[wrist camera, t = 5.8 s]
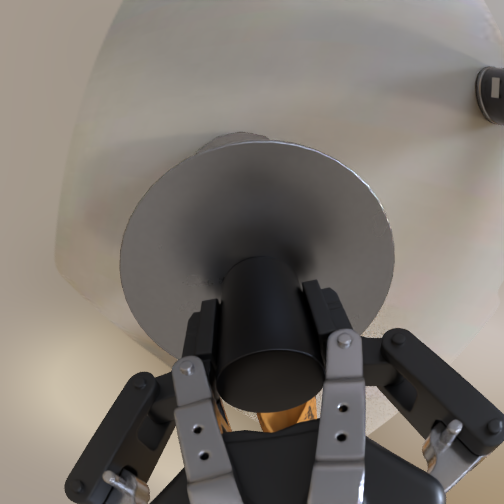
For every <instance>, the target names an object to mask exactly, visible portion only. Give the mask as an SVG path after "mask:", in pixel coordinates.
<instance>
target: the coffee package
mask: <svg viewBox="0 0 504 504" xmlns="http://www.w3.org/2000/svg"><path fill="white" fill-rule="evenodd" d="M257 416H258V420H259V423H260V425H261V428H262V430H263V432H270V433H272V432H276V431H279V430H282V429H284V428H287V427H289V426H292V425H294V424H296V423H299V422H303V421H308V420H313V419H317V413H316V396H315V397H313V398H312V399H311V400H309V401H308V402H306V403H304V404H302V405H300V406H298V407H295V408H292V409H289V410H285V411H280V412H273V413H257Z"/></svg>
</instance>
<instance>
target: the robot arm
mask: <svg viewBox="0 0 504 504" xmlns="http://www.w3.org/2000/svg"><path fill="white" fill-rule="evenodd" d="M476 93H477V99H478V103H479V106H480V108H481V111H482V113H483V114H484V116H485V117H486V118H487V119H488V120H489V121H490V122H492V123H494V124H498V125H504V68H496V67H485V68H483V69H482V70H481V71H480V73H479V75H478V78H477V82H476ZM302 290H303V295H304V298H305V301H306V305H307V308H308V311H309V315H310V318H311V321H312V325H313V328H314V331H315V335H316V338H317V342H318V345H319V348H320V352H321V355H322V359H323V362H324V366H325V369H326V371H325V379H324V383H323V394H322V405H321V414H320V418H318V419H313V420H308V421H303V422H299V423H296V424H294V425H292V426H289V427H287V428H284V429H282V430H279V431H276V432H272V433H270V432H258V431H248V430H243V431H233V432H232V430H231V427H230V424H229V421H228V418H227V415H226V413H225V410H224V406H223V403H222V400H221V397H220V395H219V394H218V392H217V389H216V365H217V348H218V332H219V317H220V303H219V300H218V299H217V298H215V299H210V300H204V301H202V303H201V310H200V312H194V313H193V314H192V316H191V317H190V318H189V320H188V324H187V330H186V336H185V341H184V346H183V352H182V358H181V359H179V360H178V361H177V362H176V363H175V364H174V365H173V367H172V371H171V372H169V373H167V374H164V375H161V376H158V377H156V378H155V377H154V376H153V375H152V374H151V373H149V372H140V373H137V374H135V375H133V376H132V377H131V378H130V379H129V380H128V382H127V384H126V385H125V387H124V388H123V390H122V391H121V393H120V394H119V396H118V397H117V399H116V400H115V402H114V404H113V405H112V407H111V408H110V410H109V411H108V413H107V415H106V416H105V418H104V419H103V421H102V422H101V424H100V426H99V427H98V429H97V430H96V432H95V434H94V436H93V437H92V438H91V440H90V442H89V443H88V445H87V446H86V448H85V450H84V451H83V453H82V455H81V456H80V458H79V460H78V461H77V463H76V464H75V466H74V468H73V469H72V471H71V473H70V474H69V476H68V478H67V480H66V482H65V493H66V495H67V497H68V498H69V499H70V500H71V501H73V502H75V503H77V504H148V501H149V500H150V495H149V494H150V492H149V487H148V485H147V482H148V480H149V478H150V476H151V474H152V472H153V470H154V468H155V466H156V464H157V462H158V460H159V458H160V456H161V454H162V452H163V450H164V448H165V446H166V444H167V442H168V440H169V438H170V436H171V434H172V432H173V430H174V428H175V426H176V428H177V433H178V439H179V444H180V449H181V453H182V458H183V463H184V468H183V469H182V470H181V471H180V472H179V474H178V475H177V476H176V477H175V478H174V479H173V480H172V481H171V482H170V483H169V484H168V485H167V486H166V487H165V488H164V489H163V491H162V492H160V494H159V495H158V496H157V497H156V498H155V499H154V500H153V501H152V502H151V503H150V504H446V494H445V493H447V492H448V491H449V490H450V489H451V488H452V487H453V486H454V485H455V484H457V483H458V482H459V481H460V480H461V479H462V478H463V477H464V476H465V475H466V474H467V473H468V472H469V471H471V470H472V469H473V468H474V467H476V466H477V465H478V464H479V463H480V462H482V461H483V460H484V459H485V458H486V457H487V456H488V455H489V454H491V453H492V452H493V451H494V450H495V449H496V448H497V447H498V446H499V445H500V444H501V443H502V442H503V441H504V414H503V413H502V412H501V411H500V410H498V409H497V408H496V407H495V406H494V405H493V404H492V403H491V402H490V401H489V400H488V399H486V398H485V397H484V396H483V395H482V394H481V393H480V392H479V391H478V390H476V389H475V388H474V387H473V386H472V385H471V384H470V383H469V382H468V381H466V380H465V379H464V378H463V377H462V376H461V375H460V374H458V373H457V372H456V371H455V370H454V369H453V368H452V367H450V366H449V365H448V364H447V363H446V362H445V361H444V360H442V359H441V358H440V357H439V356H438V355H437V354H435V353H434V352H433V351H432V350H431V349H430V348H428V347H427V346H426V345H425V344H424V343H422V342H421V341H420V340H419V339H418V338H417V337H415V336H414V335H413V334H412V333H411V332H409V331H407V330H405V329H401V328H395V329H391V330H389V331H387V332H386V333H385V334H384V335H383V337H382V338H366V337H362V336H360V334H359V333H358V332H356V331H355V330H353V328H352V326H351V323H350V321H349V319H348V317H347V314H346V312H345V310H344V308H343V305H342V303H341V301H340V299H339V297H338V294H337V293H336V292H335V291H334V290H333V289H331V288H330V287H328V288H324V289H321V288H320V285H319V283H318V280H317V279H315V280H310V281H305V282H302ZM365 386H377V387H378V389H379V390H380V391H381V392H382V393H383V394H384V395H385V396H386V397H387V399H388V400H389V401H390V402H391V403H392V404H393V405H394V406H395V407H396V408H397V409H398V411H399V412H400V413H401V414H402V415H403V416H404V417H405V418H406V419H407V420H408V421H409V423H410V424H411V425H412V426H413V427H414V428H415V429H416V430H417V431H418V432H419V434H420V435H421V436H422V437H423V438H424V439H425V442H424V444H423V447H422V453H423V456H424V458H425V459H426V461H427V464H428V470H427V472H425V471H424V470H422V469H420V468H418V467H416V466H414V465H413V464H411V463H409V462H408V461H406V460H404V459H402V458H401V457H399V456H397V455H396V454H394V453H392V452H391V451H389V450H387V449H386V448H384V447H382V446H381V445H379V444H378V443H376V442H375V441H373V440H371V439H369V438H368V437H367V436H365V427H366V397H365Z"/></svg>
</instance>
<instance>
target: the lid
mask: <svg viewBox="0 0 504 504" xmlns="http://www.w3.org/2000/svg"><path fill="white" fill-rule="evenodd" d="M394 262H395V255H394V241H393V235H392V230H391V227H390V224H389V221H388V218H387V215H386V213H385V211H384V209H383V207H382V205H381V203H380V202H379V200H378V198H377V197H376V196H375V194H374V193H373V192H372V190H371V189H370V188H369V186H368V185H367V184H366V183H365V182H364V181H363V180H362V179H361V178H360V177H359V176H358V175H357V174H356V173H354V172H353V171H352V170H351V169H349V168H348V167H346V166H345V165H343V164H342V163H340V162H339V161H338V160H336V159H334V158H332V157H330V156H328V155H326V154H324V153H322V152H320V151H318V150H316V149H313V148H310V147H306V146H303V145H300V144H297V143H292V142H285V141H278V140H244V141H237V142H231V143H226V144H222V145H219V146H216V147H212V148H209V149H206V150H204V151H202V152H199V153H197V154H195V155H193V156H191V157H189V158H187V159H185V160H184V161H182V162H181V163H179V164H178V165H176V166H175V167H173V168H172V169H170V170H169V171H168V172H166V173H165V174H164V175H163V176H162V177H161V178H160V179H159V180H158V181H157V182H155V183H154V184H153V185H152V186H151V188H150V189H149V190H148V191H147V193H146V194H145V195H144V196H143V198H142V199H141V200H140V201H139V203H138V205H137V206H136V208H135V210H134V212H133V213H132V215H131V217H130V219H129V221H128V224H127V227H126V229H125V232H124V235H123V240H122V245H121V250H120V276H121V284H122V288H123V291H124V295H125V298H126V301H127V303H128V305H129V308H130V310H131V312H132V314H133V315H134V317H135V319H136V320H137V322H138V323H139V325H140V326H141V327H142V329H143V330H144V331H145V332H146V334H147V335H148V336H149V337H150V338H151V339H152V340H153V341H154V342H155V343H156V344H157V345H158V346H160V347H161V348H162V349H163V350H165V351H166V352H167V353H169V354H170V355H172V356H173V357H175V358H177V359H178V360H179V359H181V358H182V352H183V346H184V341H185V336H186V330H187V324H188V320H189V318H190V317H191V316H192V314H193V313H194V312H200V310H201V303H202V301H204V300H210V299H215V298H217V299H218V300H219V303H220V317H219V332H218V348H217V365H216V389H217V392H218V394H219V395H220V397H221V398H222V399H223V400H224V401H225V402H227V403H228V404H230V405H231V406H233V407H235V408H238V409H241V410H244V411H249V412H255V413H273V412H280V411H285V410H289V409H292V408H295V407H298V406H300V405H302V404H304V403H306V402H308V401H309V400H311V399H312V398H313V397H315V396H316V395H317V394H318V393H319V392H320V390H321V389H322V388H323V383H324V379H325V371H326V369H325V366H324V362H323V359H322V355H321V352H320V348H319V345H318V342H317V338H316V335H315V331H314V328H313V325H312V321H311V318H310V315H309V311H308V308H307V305H306V301H305V298H304V295H303V290H302V282H305V281H310V280H315V279H317V280H318V283H319V285H320V288H321V289H324V288H328V287H330V288H331V289H333V290H334V291H335V292H336V293H337V294H338V297H339V299H340V301H341V303H342V305H343V308H344V310H345V312H346V314H347V317H348V319H349V321H350V323H351V326H352V328H353V330H355V331H356V332H358V333H359V334H360V335H361V334H362V333H363V332H364V331H365V330H366V329H367V328H368V326H369V325H370V324H371V322H372V321H373V320H374V318H375V317H376V315H377V314H378V312H379V310H380V309H381V307H382V305H383V303H384V301H385V298H386V296H387V294H388V291H389V288H390V284H391V281H392V277H393V270H394Z"/></svg>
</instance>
